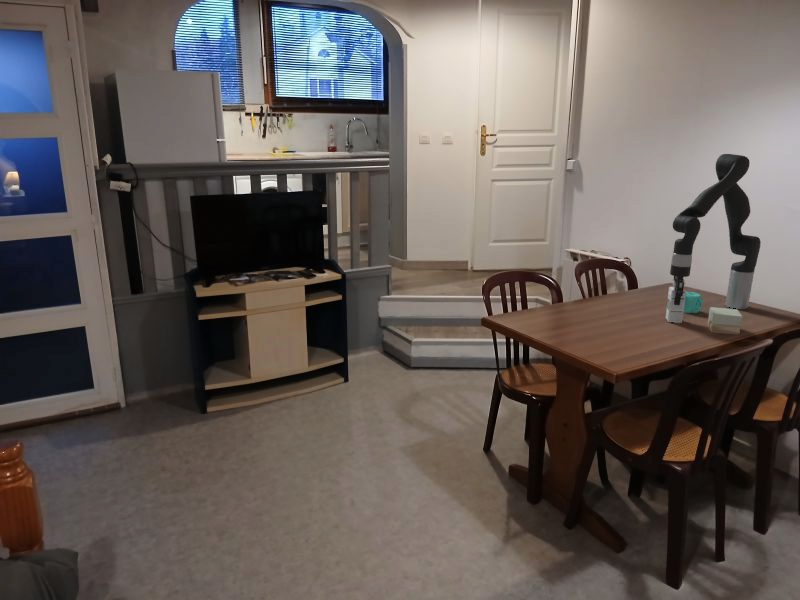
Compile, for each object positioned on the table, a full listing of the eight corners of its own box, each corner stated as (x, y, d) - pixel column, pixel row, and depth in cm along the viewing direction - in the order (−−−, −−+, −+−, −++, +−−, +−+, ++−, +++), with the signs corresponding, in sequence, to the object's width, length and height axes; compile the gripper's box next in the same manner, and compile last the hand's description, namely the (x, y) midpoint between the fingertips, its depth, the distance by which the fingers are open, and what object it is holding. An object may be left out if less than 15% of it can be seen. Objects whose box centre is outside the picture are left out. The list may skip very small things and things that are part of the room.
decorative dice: (701, 311, 262) (704, 294, 260) (691, 314, 258) (694, 297, 256) (684, 307, 268) (686, 290, 266) (674, 310, 264) (677, 293, 262)
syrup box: (682, 323, 246) (687, 290, 242) (667, 322, 247) (671, 289, 243) (679, 319, 251) (683, 286, 247) (664, 318, 252) (668, 286, 248)
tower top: (708, 316, 243) (709, 307, 242) (735, 318, 240) (736, 309, 239) (712, 323, 234) (714, 313, 233) (740, 326, 231) (742, 316, 230)
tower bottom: (707, 325, 244) (708, 316, 243) (734, 327, 241) (735, 318, 240) (711, 332, 235) (712, 323, 234) (739, 335, 232) (740, 326, 231)
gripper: (693, 268, 235) (687, 308, 239) (688, 261, 248) (683, 299, 252) (673, 267, 237) (667, 306, 241) (669, 260, 250) (664, 297, 255)
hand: (675, 302), depth 247 cm, fingers open, 6 cm apart
